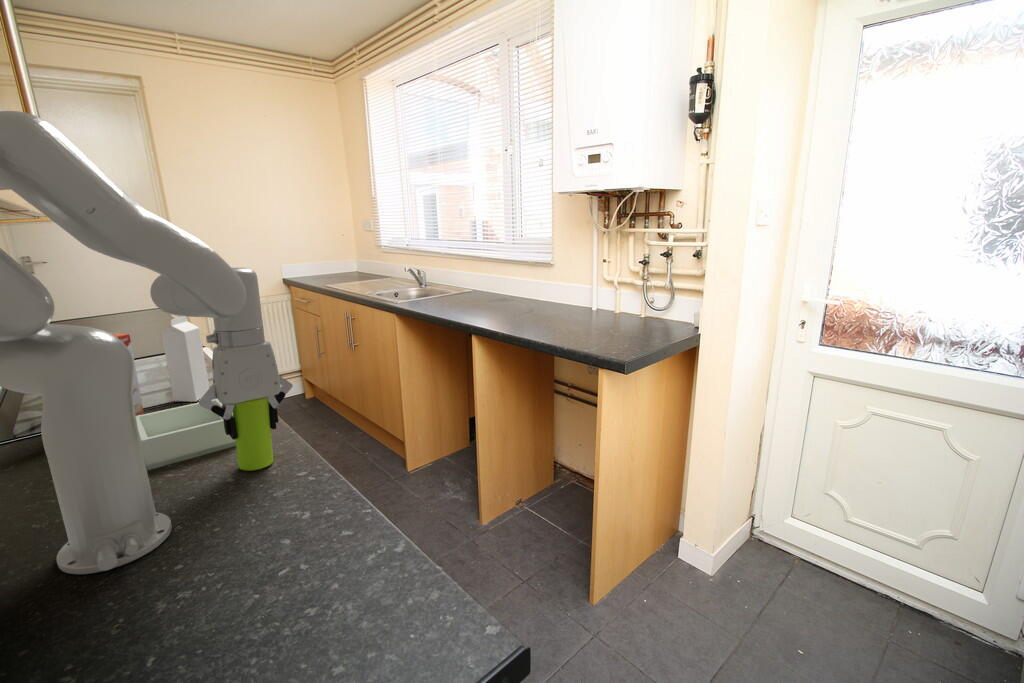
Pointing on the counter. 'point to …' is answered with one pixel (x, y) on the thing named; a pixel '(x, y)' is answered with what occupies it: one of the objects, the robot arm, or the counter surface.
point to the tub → (181, 434)
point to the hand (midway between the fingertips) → (253, 431)
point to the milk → (185, 360)
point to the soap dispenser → (253, 434)
